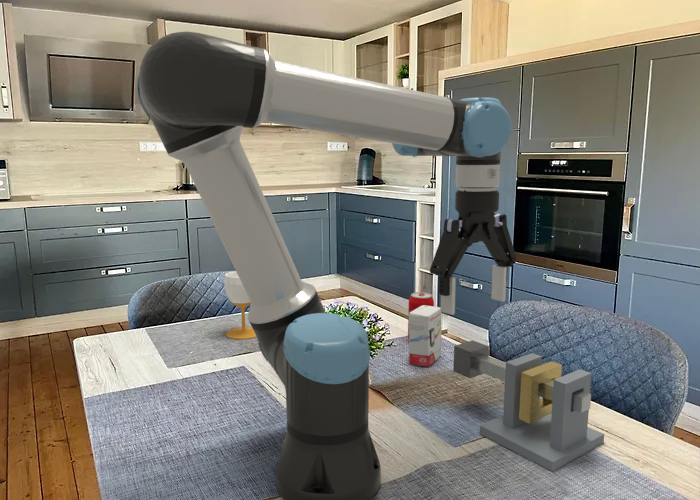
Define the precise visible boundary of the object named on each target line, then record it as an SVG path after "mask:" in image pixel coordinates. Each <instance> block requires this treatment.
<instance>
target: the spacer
mask: <svg viewBox="0 0 700 500" xmlns="http://www.w3.org/2000/svg"><path fill="white" fill-rule="evenodd" d="M562 369H563V365H562V364H560V363H558V362H555V361H548V362H545V363H543V364H542V365H540V366H537V367H535V368H532V369H529V370H527V371H524V372H521V391H520V410H519V419H520V420H523V421H525V422H527V423H529V424H530V423H532V422H534V421H536V420H538V419H541V418H543V417H545V416H547V415H549V414H551V413H552V401H551V400H548V399H546V398H543V397H542V398H540V399H539V400H538V384H541V383H543V382H546V381H548V380H550V379H552V380H555V379H557V378H560V377H562V372H563V371H562Z"/></svg>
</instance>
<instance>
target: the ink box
mask: <svg viewBox="0 0 700 500" xmlns="http://www.w3.org/2000/svg"><path fill="white" fill-rule="evenodd" d="M442 313H443V312H441V306H440V307H439V306H435V305H434V306H427V305H422V306H420V307H419V308H417V309H415V310H413V311H412V312H410V314H409V339H408V353H409V354H408V360H409V361H408V364H409V365H412V366H419V367H420V366H421V367H427V368H429V367H430V366H432V364H434V363H435V361H437V360H439V358H440V357H441V356H442V317H443V316H442Z"/></svg>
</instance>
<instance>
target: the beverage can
mask: <svg viewBox="0 0 700 500" xmlns="http://www.w3.org/2000/svg"><path fill="white" fill-rule="evenodd" d="M422 305H427V306H434V307H435V300H434V298H433V294H432V293H429V292H424V291H418V292H412V293H411V294H410V297H409V299H408V309H407V310H408V315H407V317H408V318H407V320H408V321H407V325H408V326H407V327H408V328H407V339H408V340H409V314H410V312H412V311H413V310H415V309H417V308H419V307H420V306H422Z"/></svg>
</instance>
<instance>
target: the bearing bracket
mask: <svg viewBox="0 0 700 500" xmlns="http://www.w3.org/2000/svg"><path fill="white" fill-rule="evenodd" d="M505 362H506V370H505V382H504V394H503V395H504V396H503V399H504V400H503V414H502V415H501V416H499V417H495V418H493V419H491V420H489V421H487V422H485V423H482V424H480V425H479V434H480V435H482V436H484V437H486V438H488V439H489V440H491V441H493V442H495V443H496V444H499V445H501V446H503V447H504V448H506V449H509V450H510V451H512V452H514V453H516V454H518V455H520V456H522V457H524V458H526V459H528V460H530V461H532V462H533V463H536V464H537V465H540V466H541V467H543V468H545V469H547V470H549V471H551V472H554V471H556V470H558V469H560V468H561V467H563V466H565V465H566V464H567V465H568V463H570V462H572V461H573V460H575V459H578V458H579V457H581V456H583V455H584V454H586V453H588V452H590V451H591V450H593V449H594V448H596V447H598V446H600V445H602V444H604V442H605V433H603V432H601V431H599V430H596V429H594V428H591V427H589V426H588V425H589V424H588V423H589V413H590V409H588V410H586V411H584V412H582V413H580V412H578V411H575V410H573V409H571V401H572V393H573V392H575V391H577V390H582V391H584V392H587V393H590V394H591V384H592V372H589V371H587V370H584V369H581V368H579V369H577V370H574V371H572V372H569V373H567V374H565V375H563V376H562V375H561V377H560V378H557V379H555V380H554V384H553V400H552V413H551V414H549V415H547V416H545V417H543V418H541V419H538V420H536V421H534V422H532V423H530V424H529V423H527V422H525V421H523V420H520V419H519V410H520V391H521V372H524V371H527V370H529V369H532V368H535V367H537V366H540V365H543V364H542V363H543V356H542V355H539V354H535V353H533V352H531V353H529V354H525V355H523V356H520V357H517V358H515V359H511V360H508V361H505ZM540 397H541V396H538V400H541V398H540Z"/></svg>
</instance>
